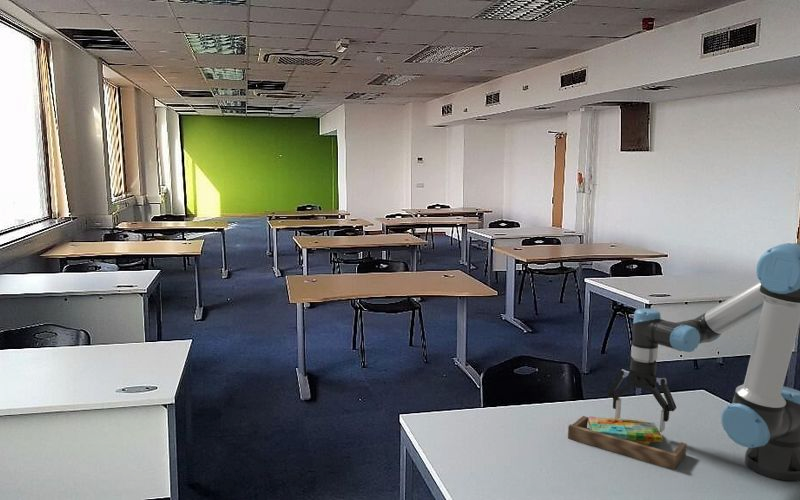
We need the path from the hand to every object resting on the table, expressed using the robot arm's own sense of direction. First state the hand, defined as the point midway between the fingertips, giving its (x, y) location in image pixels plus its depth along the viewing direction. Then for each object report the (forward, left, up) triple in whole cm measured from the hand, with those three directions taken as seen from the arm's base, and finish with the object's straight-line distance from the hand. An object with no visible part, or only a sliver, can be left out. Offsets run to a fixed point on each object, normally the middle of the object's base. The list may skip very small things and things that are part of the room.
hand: (639, 424), depth 196 cm
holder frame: (0, +12, -3) cm, 13 cm away
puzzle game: (+3, +7, -3) cm, 8 cm away
